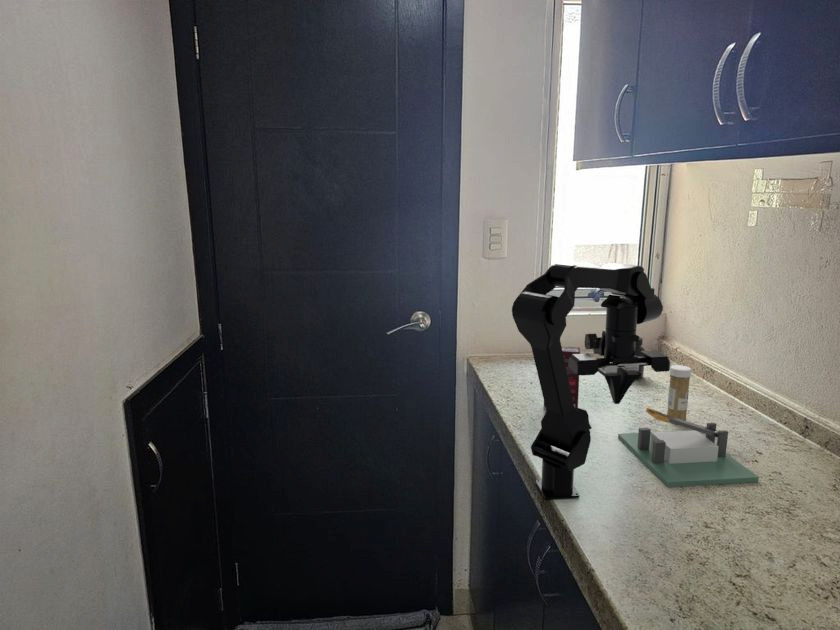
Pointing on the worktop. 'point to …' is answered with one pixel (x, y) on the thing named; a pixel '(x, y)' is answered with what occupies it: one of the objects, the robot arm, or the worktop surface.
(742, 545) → the worktop surface
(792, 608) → the worktop surface
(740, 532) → the worktop surface
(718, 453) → the board
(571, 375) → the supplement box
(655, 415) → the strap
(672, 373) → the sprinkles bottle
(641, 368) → the supplement bottle
